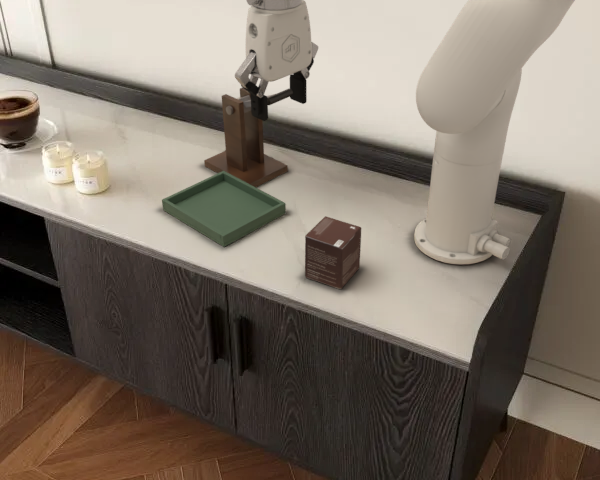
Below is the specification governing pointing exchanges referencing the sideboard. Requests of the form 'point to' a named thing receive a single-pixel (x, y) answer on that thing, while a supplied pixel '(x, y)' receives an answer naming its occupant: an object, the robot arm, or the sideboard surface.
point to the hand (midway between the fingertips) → (279, 108)
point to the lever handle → (270, 98)
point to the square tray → (224, 207)
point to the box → (332, 252)
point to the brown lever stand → (244, 146)
